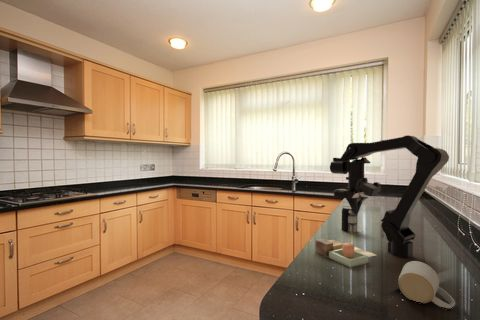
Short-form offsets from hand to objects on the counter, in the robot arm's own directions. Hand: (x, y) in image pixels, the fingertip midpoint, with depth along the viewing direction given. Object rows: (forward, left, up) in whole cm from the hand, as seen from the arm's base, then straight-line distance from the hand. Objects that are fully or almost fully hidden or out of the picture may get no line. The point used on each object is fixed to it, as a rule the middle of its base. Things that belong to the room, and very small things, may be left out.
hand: (355, 214), depth 96 cm
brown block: (-4, +21, -10) cm, 24 cm away
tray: (-12, +19, -10) cm, 24 cm away
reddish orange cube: (-12, +19, -10) cm, 24 cm away
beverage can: (+11, -10, -12) cm, 19 cm away
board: (-7, +14, -12) cm, 20 cm away
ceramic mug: (-33, +18, -12) cm, 39 cm away
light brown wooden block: (-4, +17, -10) cm, 20 cm away
